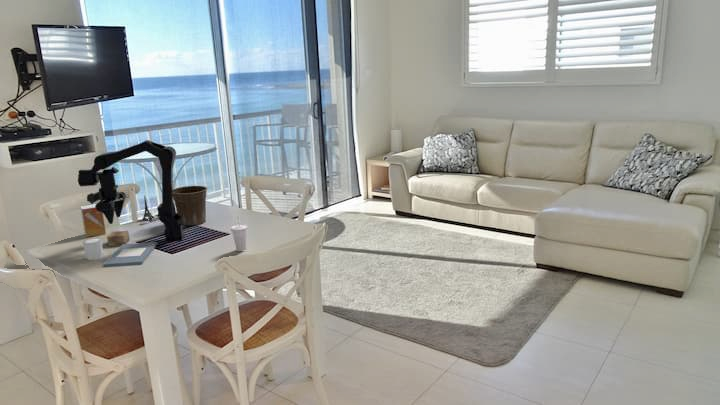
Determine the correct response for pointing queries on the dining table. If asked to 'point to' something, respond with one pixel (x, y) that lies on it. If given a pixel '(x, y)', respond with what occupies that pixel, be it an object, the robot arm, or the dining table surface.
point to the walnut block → (118, 238)
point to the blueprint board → (131, 254)
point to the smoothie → (239, 236)
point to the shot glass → (93, 248)
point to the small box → (92, 221)
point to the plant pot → (190, 204)
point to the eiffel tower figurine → (148, 215)
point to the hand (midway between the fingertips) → (114, 220)
